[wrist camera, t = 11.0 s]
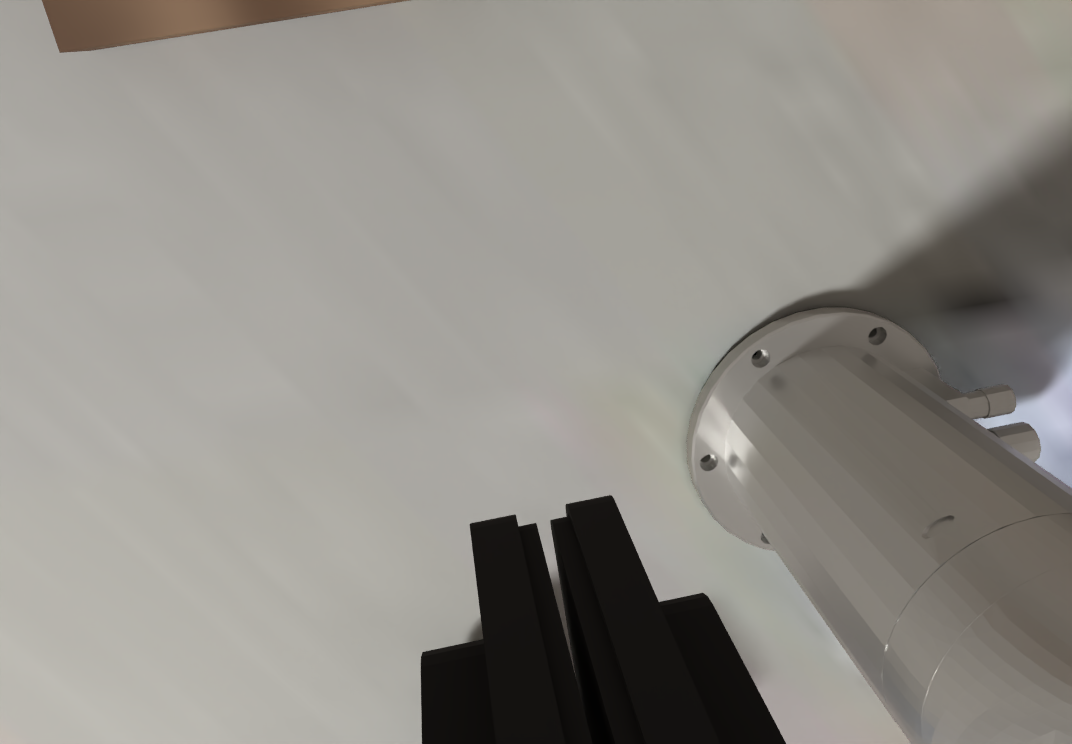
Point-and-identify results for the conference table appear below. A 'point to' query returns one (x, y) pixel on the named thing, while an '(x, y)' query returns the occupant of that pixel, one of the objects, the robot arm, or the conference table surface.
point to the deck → (171, 18)
